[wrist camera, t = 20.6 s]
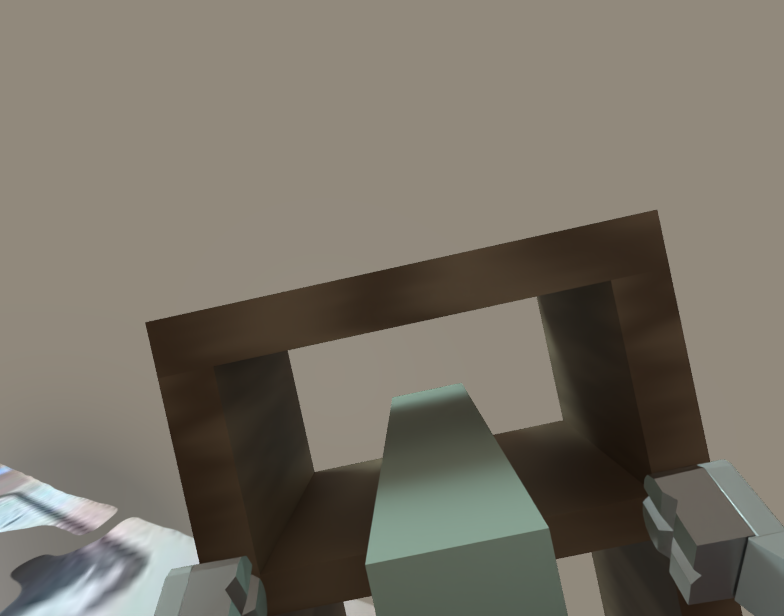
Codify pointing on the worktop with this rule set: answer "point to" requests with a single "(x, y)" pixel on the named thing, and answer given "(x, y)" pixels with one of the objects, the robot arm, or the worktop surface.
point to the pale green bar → (455, 519)
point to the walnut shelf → (521, 447)
